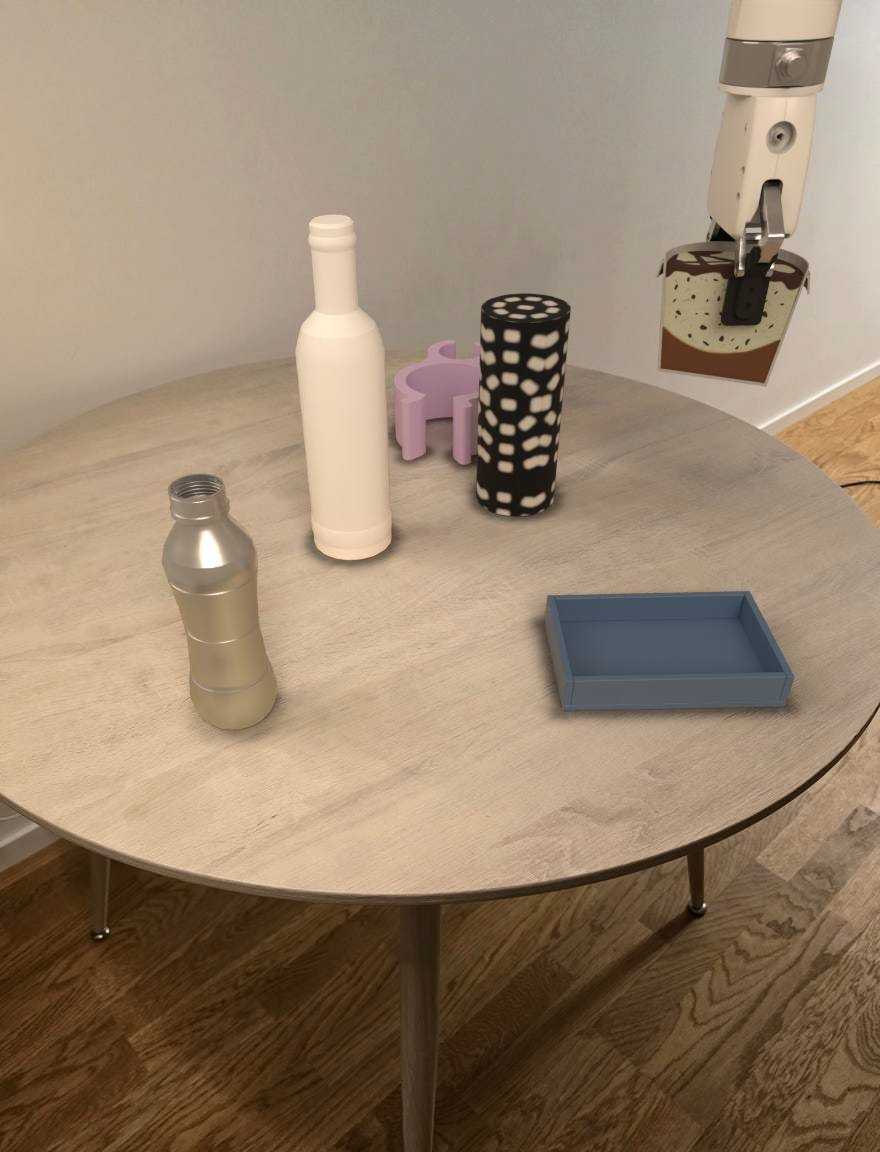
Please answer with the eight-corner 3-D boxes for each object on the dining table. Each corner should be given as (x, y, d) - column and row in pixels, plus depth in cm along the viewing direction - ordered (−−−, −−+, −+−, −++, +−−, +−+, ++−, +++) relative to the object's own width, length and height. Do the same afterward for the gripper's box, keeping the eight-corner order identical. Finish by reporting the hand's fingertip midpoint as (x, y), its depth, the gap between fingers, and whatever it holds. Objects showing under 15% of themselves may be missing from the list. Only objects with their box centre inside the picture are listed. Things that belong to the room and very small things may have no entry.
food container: (791, 364, 81) (822, 247, 75) (784, 389, 77) (816, 267, 70) (655, 346, 85) (673, 234, 79) (640, 368, 81) (659, 252, 75)
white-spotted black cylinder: (465, 508, 94) (468, 317, 82) (489, 473, 100) (496, 289, 88) (541, 522, 91) (557, 327, 79) (562, 485, 97) (580, 298, 85)
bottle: (389, 562, 86) (376, 232, 68) (308, 561, 87) (273, 233, 68) (394, 519, 93) (384, 206, 74) (319, 519, 93) (290, 207, 74)
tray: (742, 619, 78) (749, 590, 76) (785, 707, 69) (795, 676, 67) (544, 623, 78) (547, 594, 76) (562, 711, 69) (566, 681, 68)
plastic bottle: (221, 677, 74) (177, 456, 61) (295, 695, 72) (265, 471, 59) (179, 728, 69) (122, 501, 57) (256, 750, 67) (215, 519, 55)
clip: (419, 389, 119) (418, 337, 114) (512, 395, 116) (515, 343, 112) (382, 458, 104) (380, 401, 99) (489, 466, 101) (491, 409, 97)
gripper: (870, 80, 59) (804, 343, 70) (788, 52, 73) (743, 277, 84) (755, 84, 60) (708, 346, 71) (695, 56, 73) (663, 279, 84)
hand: (727, 307), depth 77 cm, fingers closed on food container, 7 cm apart
